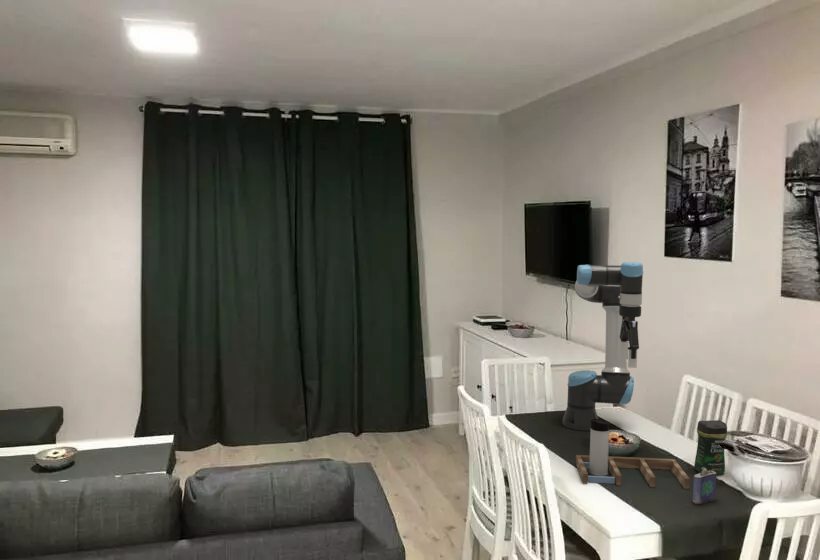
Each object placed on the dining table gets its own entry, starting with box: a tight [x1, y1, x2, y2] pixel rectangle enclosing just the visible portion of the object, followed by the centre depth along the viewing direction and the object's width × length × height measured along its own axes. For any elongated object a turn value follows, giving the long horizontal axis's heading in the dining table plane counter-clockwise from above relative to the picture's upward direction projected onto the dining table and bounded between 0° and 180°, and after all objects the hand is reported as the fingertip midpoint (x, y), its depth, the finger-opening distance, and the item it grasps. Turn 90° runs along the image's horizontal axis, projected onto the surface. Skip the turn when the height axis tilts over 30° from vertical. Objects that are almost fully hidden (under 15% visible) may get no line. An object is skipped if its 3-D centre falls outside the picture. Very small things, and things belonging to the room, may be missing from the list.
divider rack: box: [575, 454, 691, 490], centre depth 232 cm, size 18×34×4 cm, turn 84°
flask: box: [692, 467, 718, 505], centre depth 212 cm, size 9×3×11 cm, turn 117°
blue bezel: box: [583, 462, 616, 485], centre depth 232 cm, size 14×9×2 cm, turn 174°
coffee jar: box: [694, 419, 728, 476], centre depth 235 cm, size 10×8×19 cm
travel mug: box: [588, 418, 610, 477], centre depth 231 cm, size 6×7×20 cm
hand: (628, 363), depth 242 cm, fingers open, 13 cm apart
